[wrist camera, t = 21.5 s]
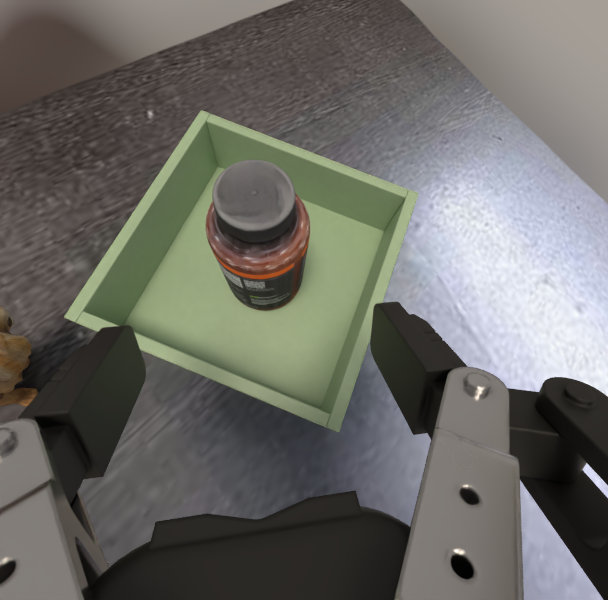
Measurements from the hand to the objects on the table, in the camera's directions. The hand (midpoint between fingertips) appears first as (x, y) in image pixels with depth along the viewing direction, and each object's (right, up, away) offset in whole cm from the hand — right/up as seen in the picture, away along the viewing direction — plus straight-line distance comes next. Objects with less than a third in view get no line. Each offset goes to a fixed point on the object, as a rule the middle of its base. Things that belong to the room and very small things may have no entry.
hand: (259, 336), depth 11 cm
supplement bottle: (-2, +3, +15) cm, 16 cm away
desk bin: (-2, +3, +16) cm, 16 cm away
